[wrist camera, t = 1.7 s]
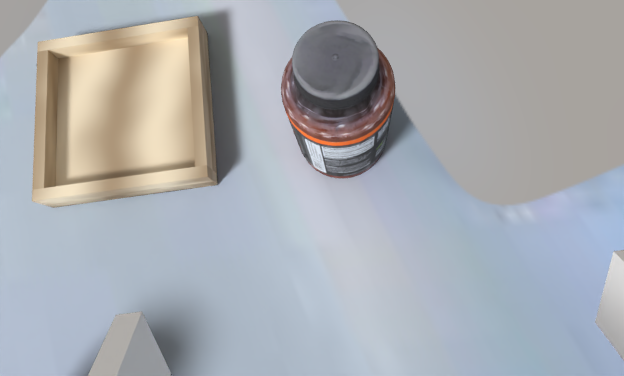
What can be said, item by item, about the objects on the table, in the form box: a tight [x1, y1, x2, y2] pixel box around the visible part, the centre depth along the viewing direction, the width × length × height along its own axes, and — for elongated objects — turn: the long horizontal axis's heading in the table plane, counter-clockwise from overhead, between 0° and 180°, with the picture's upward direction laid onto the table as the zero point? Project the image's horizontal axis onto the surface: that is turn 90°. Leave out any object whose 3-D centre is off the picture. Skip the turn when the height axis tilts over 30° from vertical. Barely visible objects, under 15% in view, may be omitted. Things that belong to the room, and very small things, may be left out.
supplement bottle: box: [281, 21, 395, 178], centre depth 26 cm, size 6×6×11 cm
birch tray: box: [32, 16, 218, 208], centre depth 32 cm, size 12×12×2 cm
